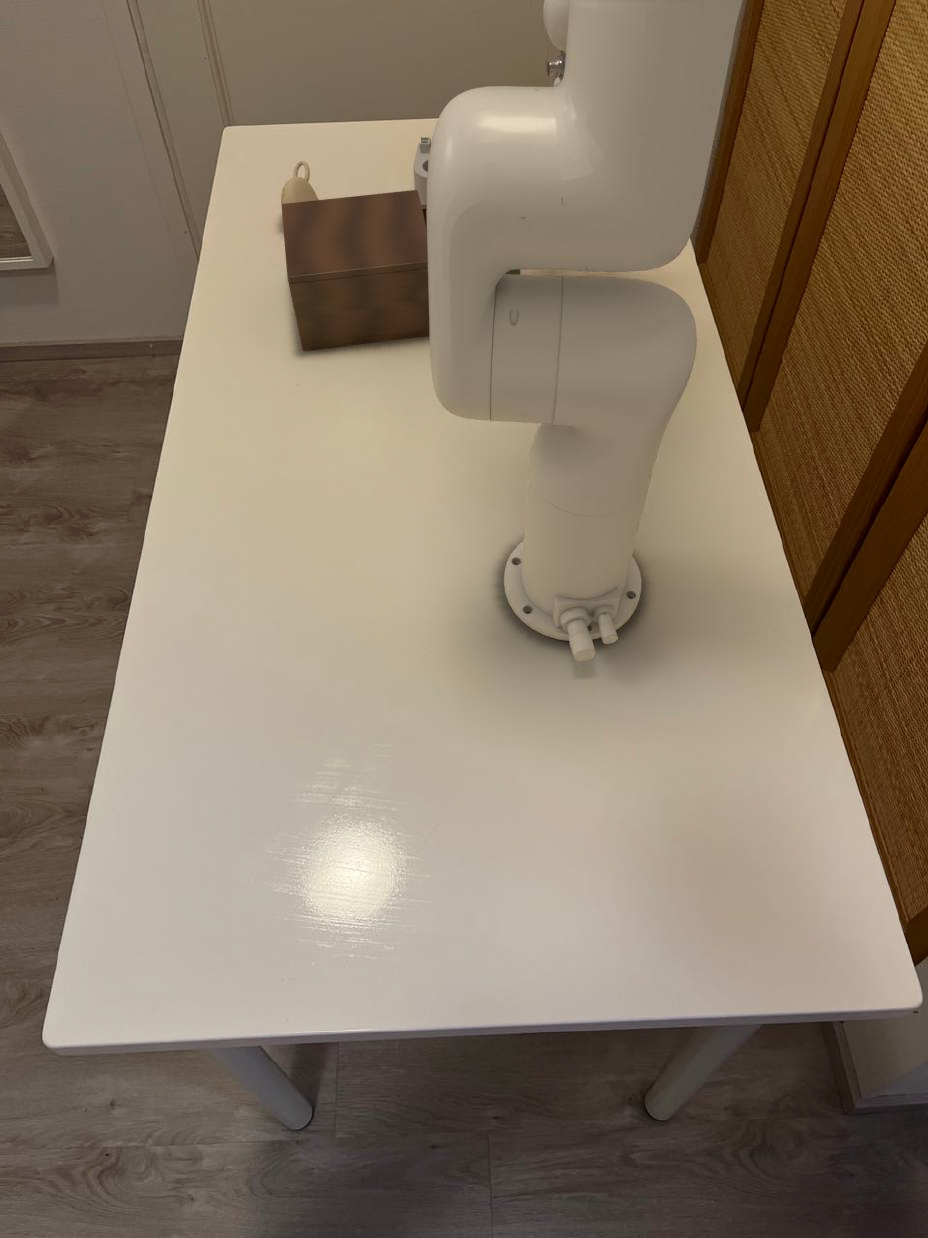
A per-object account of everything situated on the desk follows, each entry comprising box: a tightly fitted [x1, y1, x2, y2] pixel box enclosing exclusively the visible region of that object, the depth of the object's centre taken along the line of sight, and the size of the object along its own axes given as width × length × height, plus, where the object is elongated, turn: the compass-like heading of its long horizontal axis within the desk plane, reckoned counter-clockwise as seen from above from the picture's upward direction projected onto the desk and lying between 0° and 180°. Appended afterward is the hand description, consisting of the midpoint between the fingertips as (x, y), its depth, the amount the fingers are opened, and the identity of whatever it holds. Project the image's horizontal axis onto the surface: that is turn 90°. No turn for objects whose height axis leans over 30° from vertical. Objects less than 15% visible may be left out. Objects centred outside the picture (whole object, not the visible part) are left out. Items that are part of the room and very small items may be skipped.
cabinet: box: [281, 189, 430, 351], centre depth 100 cm, size 16×14×10 cm
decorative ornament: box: [280, 160, 319, 207], centre depth 111 cm, size 4×8×5 cm, turn 166°
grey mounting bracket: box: [412, 136, 433, 205], centre depth 113 cm, size 6×18×8 cm, turn 175°
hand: (581, 238), depth 101 cm, fingers closed
